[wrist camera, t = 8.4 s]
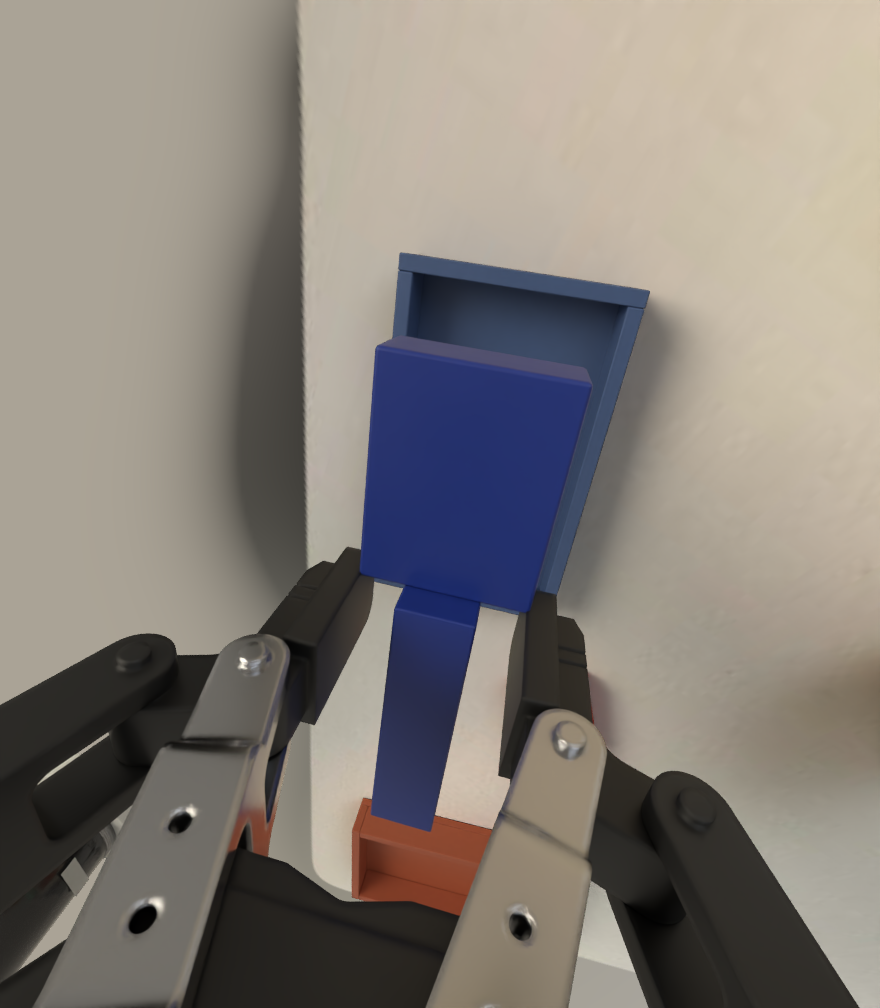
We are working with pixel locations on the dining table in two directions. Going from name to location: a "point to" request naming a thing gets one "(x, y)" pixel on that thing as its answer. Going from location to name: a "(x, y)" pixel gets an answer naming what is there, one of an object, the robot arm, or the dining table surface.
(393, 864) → the red tray
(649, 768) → the dining table surface
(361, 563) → the blue spoon
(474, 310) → the blue tray
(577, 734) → the robot arm
